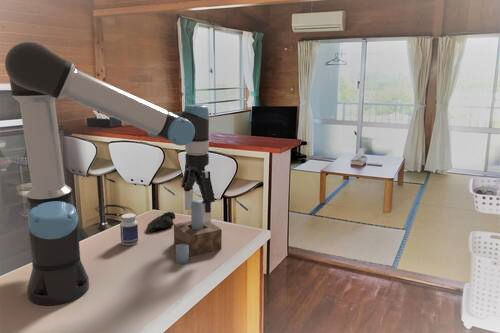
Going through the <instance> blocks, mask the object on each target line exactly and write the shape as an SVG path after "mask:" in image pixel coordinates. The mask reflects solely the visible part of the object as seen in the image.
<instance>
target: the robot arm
mask: <svg viewBox="0 0 500 333" xmlns="http://www.w3.org/2000/svg"><path fill="white" fill-rule="evenodd" d="M4 61H5V62H4V67H5V71H6V73H7V76H8V77H9V85H10V89H11V90H10V92H11V96H12V98H13V99H14V100H16V101H17V102H18V103H19V107H20V115H21V121H22V128H23V129H22V130H23V135H24V136H23V137H24V143H25V149H26V155H27V163H28V171H29V177H30V184H31V188H30V189H29V191H28V192H27V193H26V197H27V204H28V205H27V206H28V215H27V221H26V223H27V229H28V236H29V245H30V246H29V247H30V255H31V262H32V270H31V273H30V277H29V281H28V285H27V298H28V300H29V301H30V302H31V303H33V304H36V305H40V306H56V305H62V304H66V303H70V302H72V301H74V300H76V299H78V298H80V297H82V296H83V295H85V294H86V293H87V292H88V291H89V288H90V280H89V279H90V278H89V275H88V274H87V272H86V269H85V267H84V264H83V263H82V260H81V252H80V251H81V249H80V237H79V236H80V235H79V216H78V213H77V209H76V207H75V206H74V200H73V192H72V188H71V187H70V186H69V185H67V184H66V180H65V172H64V165H63V156H62V155H63V154H62V147H61V140H60V132H59V124H58V116H57V111H56V110H57V108H56V99H58V100H60V99H63V98H66V99H68V100H71V101H73V102H74V103H76V104H79V105H82V106H84V107H87V108H88V109H89V108H90V109H91V110H93V111H97V112H99V113H101V114H104V115H106V116H109V117H111V118H114V119H116V120H118V121H120V122H124V123H125V124H128V125H130V126H133V127H135V128H138V129H140V130H142V131H145V132H146V133H147V135H148V136H149V137H151V138H162V139H164V140H166V141H168V142H171V143H172V144H174V145H176V146H182V147H183V146H184V151H185V164H184V173H183V177H182V181H181V188H182V189H183V191H184V211H188V210H189V211H190V210H191V201H192V200H194V191H193V190H194V188H193V187H194V185H195V183H196V185H197V186H198V188H199V191H200V195H201V198H202V200H203V202H202V222H208V221H210V222H212V203H215V202H216V200H215V193H214V189H213V184H212V179H211V171H210V170H207V171H206V166H208V165H210V164H209V163H210V159H209V157H210V155H209V153H208V152H209V148H210V141H209V136H210V135H209V133H210V132H209V131H210V130H209V129H210V128H209V127H210V115H209V114H210V113H209V108H208V106H207V105H206V104H198V103H197V104H194V103H193V104H186V105H185V106H184V111H183V110H182V111H168V110H166V109H164V108H162V107H161V106H157V105H155V104H153V103H152V102H148V101H147V100H145V99H143V98H141V97H138V96H136V95H133V94H132V93H129V92H127V91H125V90H122V89H120V88H118V87H116V86H115V85H114V86H113V85H111V84H109V83H107V82H105V81H102V80H101V79H98V78H97V77H95V76H92V75H89V74H87V73H86V72H83V71H80V70H78V69H77V68H76V66H75V64H74V63H73V62H71V61H69V60H66V59H65V58H64V57H61V56H59V55H57V54H56V53H54V52H53V51H51V50H50V49H49V48H48V47H46V46H45V45H43V44H40V43H38V42H31V41H24V42H20V43H18V44H16V45H14V46H13V47H11V48H10V49H9V50H8V52H7V53H6V56H5V58H4Z"/></svg>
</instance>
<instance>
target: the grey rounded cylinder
mask: <svg viewBox="0 0 500 333" xmlns="http://www.w3.org/2000/svg"><path fill="white" fill-rule="evenodd" d="M189 261H190V256H189V245H187V244H178V245H175V262H176V263H177V264H179V265H185V264H188V263H190V262H189Z"/></svg>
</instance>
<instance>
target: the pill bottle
mask: <svg viewBox="0 0 500 333" xmlns="http://www.w3.org/2000/svg"><path fill="white" fill-rule="evenodd" d="M136 219H137V215H136V214H135V213H131V212H130V213H124V214H122V215H121V222H120V223H119V224H120V225H119V226H120V229H119V230H120V243H121V245H123V246H127V247H128V246H134V245H136V244H138V243H139V228H138V227H139V226H138V225H139V224H138V221H137V220H136Z"/></svg>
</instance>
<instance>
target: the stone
mask: <svg viewBox="0 0 500 333" xmlns="http://www.w3.org/2000/svg"><path fill="white" fill-rule="evenodd" d="M175 219H176V214H175V212H173V211H167V212H163V214H161V215H159V216H157V217H156V218H154V219H152V220H151V221H150V222H149V223H148V224H147V227H146V233H148V234H149V233H152V232H154V231H155V230H157V229H158V230H159V229H169V228H172V227H174V220H175Z"/></svg>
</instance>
